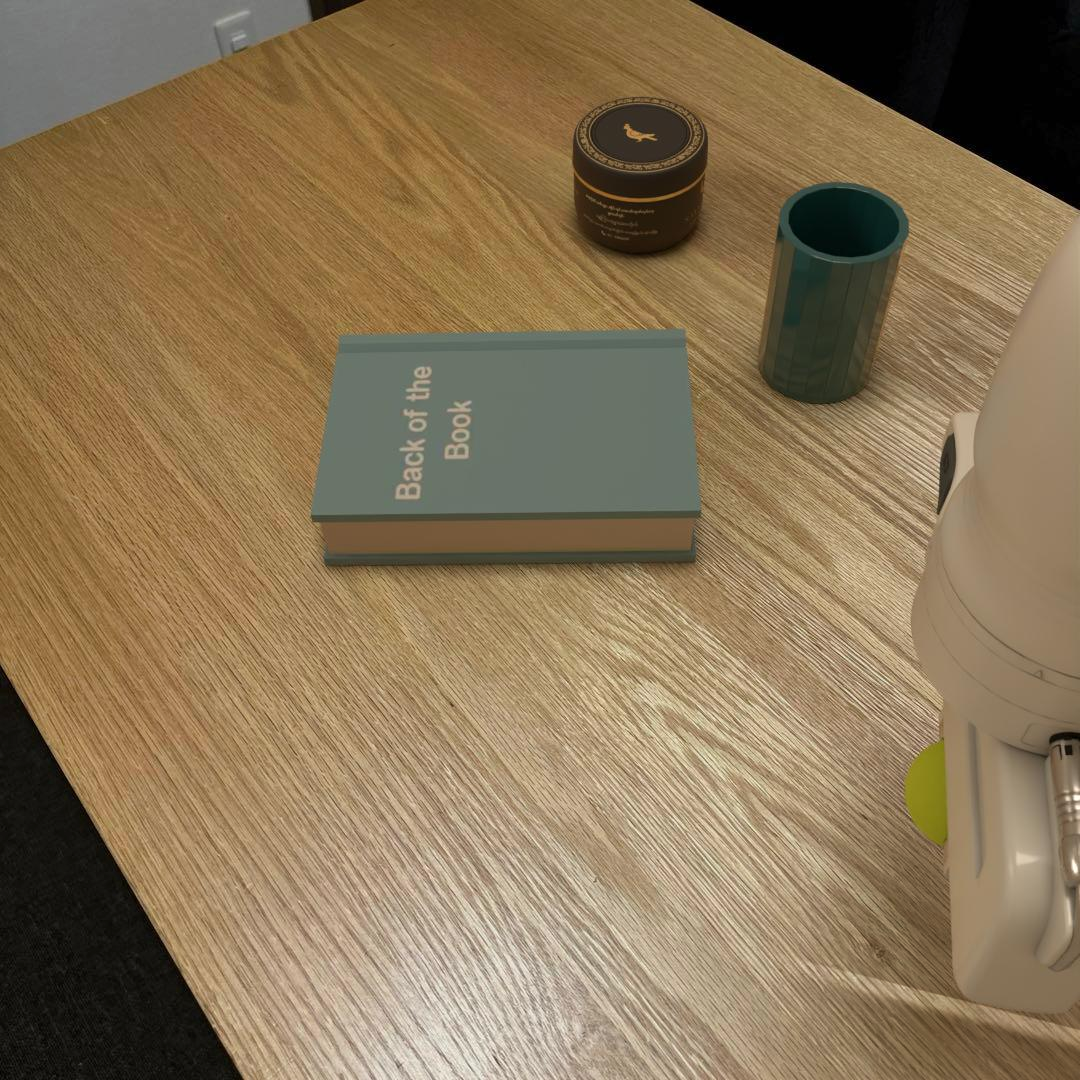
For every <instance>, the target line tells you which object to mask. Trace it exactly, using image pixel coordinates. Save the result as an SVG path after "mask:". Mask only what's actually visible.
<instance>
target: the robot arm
mask: <svg viewBox="0 0 1080 1080" xmlns="http://www.w3.org/2000/svg"><path fill="white" fill-rule="evenodd" d="M938 475H939V476H938V477H939V478H938V479H939V480H938V483H939V484H938V499H937V507H936V515H937V518H936V521H935V524H934V526H933V529H932V532H931V534H930V537H929V540H928V543H927V546H926V549H925V553H924V562H925V565H924V568H923V571H922V574H921V576H920V580H919V583H918V585H917V588H916V590H915V594H914V596H913V600H912V604H911V609H910V633H911V639H912V643H913V647H914V650H915V654H916V656H917V659H918V661H919V664H920V666H921V668H922V670H923V672H924V673H925V675H926V677H927V679H928V681H929V682H930V683H931V685H932V686H933V688H934V690H936V692H937V693H938V694H939V695H940V696H941V697H942V707H941V709H940V712H939V715H938V738H939V739H938V740H939V741H940V740H943V739H944V743H945V770H946V798H947V826H948V834H947V837H946V839H944V841H943V846H942V849H943V850H942V853H943V858H942V860H943V861H942V862H943V877H944V879H946V880H948V881H949V902H950V903H949V905H950V930H951V931H950V934H951V935H950V936H951V963H952V965H951V966H952V973H953V978H954V981H955V984H956V986H957V988H958V989H959V991H960V993H961V994H962V996H964V997H965V998H966V999H967V1000H969V1001H971V1002H973V1003H977V1004H981V1005H985V1006H989V1007H994V1008H999V1009H1005V1010H1010V1011H1017V1012H1025V1013H1034V1014H1035V1013H1036V1014H1048V1015H1049V1014H1050V1015H1058V1014H1063V1013H1065V1012H1067V1011H1069V1010H1070V1009H1072V1008H1073V1007H1074V1005H1075V1004H1076V1003H1077V1002H1078V1001H1079V1000H1080V211H1079V212H1078V213H1077V215H1076V216H1075V217H1074V218H1073V219H1072V221H1071V222H1070V224H1069V225H1068V227H1067V228H1066V229H1065V231H1064V232H1063V234H1062V235H1061V236H1060V238H1059V239H1058V241H1057V242H1056V244H1055V245H1054V247H1053V249H1052V251H1050V253H1049V255H1048V257H1047V258H1046V260H1045V262H1044V264H1043V266H1042V267H1041V269H1040V270H1039V273H1038V275H1037V277H1036V278H1035V280H1034V282H1033V285H1032V286H1031V288H1030V291H1029V292H1028V295H1027V297H1026V299H1025V300H1024V303H1023V305H1022V307H1021V309H1020V312H1019V314H1018V315H1017V318H1016V320H1015V322H1014V324H1013V327H1012V329H1011V331H1010V333H1009V335H1008V338H1007V340H1006V343H1005V344H1004V347H1003V349H1002V353H1001V355H1000V356H999V359H998V362H997V364H996V367H995V369H994V372H993V374H992V377H991V379H990V382H989V385H988V387H987V390H986V393H985V396H984V398H983V401H982V404H981V406H980V410H979V411H957V412H955V413H953V415H952V416H951V418H950V419H949V421H948V424H947V426H946V429H945V433H944V435H943V440H942V443H941V453H940V460H939V474H938Z"/></svg>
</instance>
